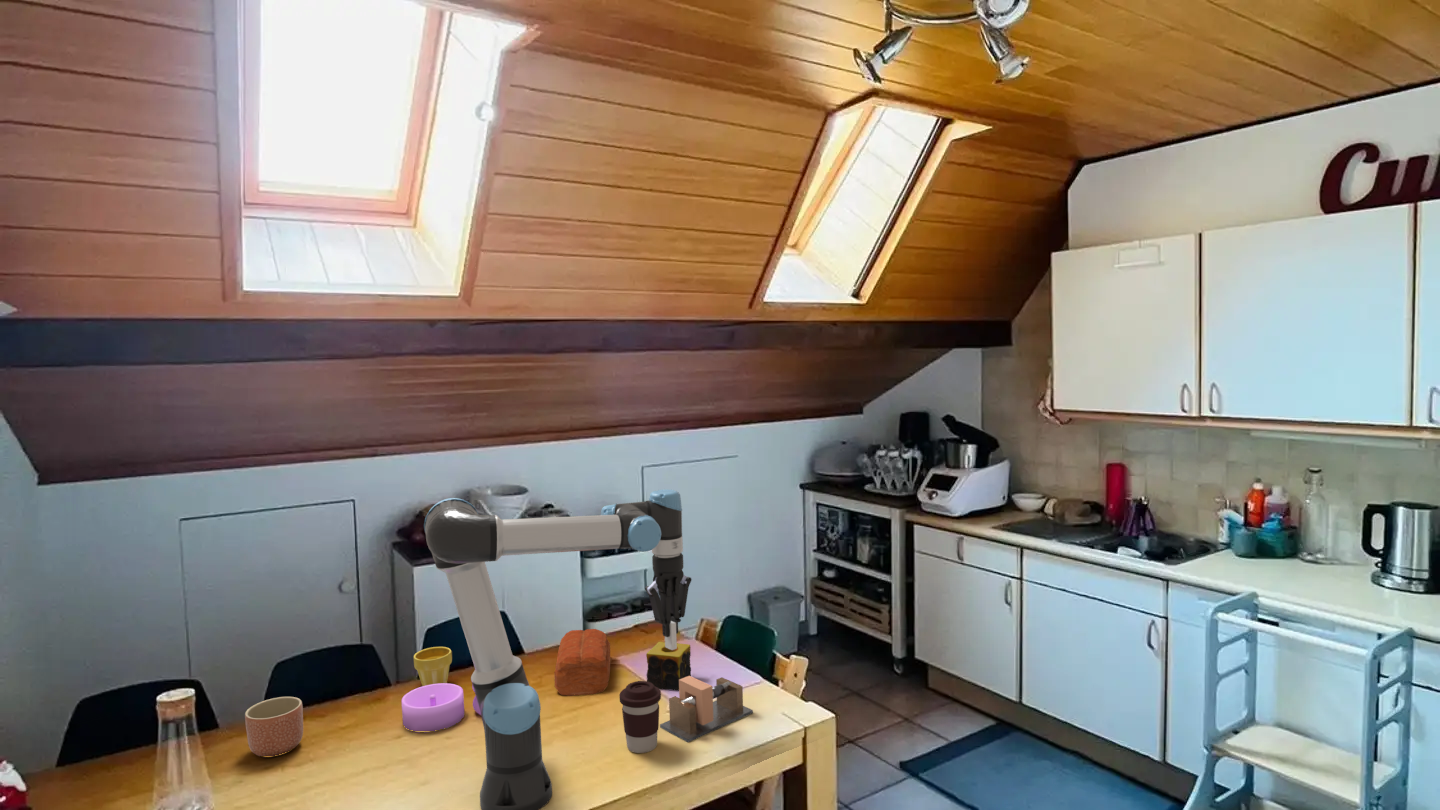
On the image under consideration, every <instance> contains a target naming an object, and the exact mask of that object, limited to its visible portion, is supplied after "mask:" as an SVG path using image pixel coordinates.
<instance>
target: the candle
mask: <svg viewBox="0 0 1440 810" xmlns="http://www.w3.org/2000/svg"><path fill="white" fill-rule="evenodd" d="M645 656H646V663H647V670H646V671H647V672H646V681H647V682H650V683H652V684H653V685H654V686H655V687H657V688H659V689H660V690H665V691H668V690H669V691H675V692H676V691H677V692H679V679H682V678H685V677H687V676H691V677H692V674H691V673H692V667H691V656H692V655H691V644H689V643H681V642H680V643H679V642H677V649H674V650H670V649H668V648H666V647H665V641H658V642H657V643H656V644H655V645H654V646H653V647H652V648H650V650H649V651H647V652H646V655H645Z"/></svg>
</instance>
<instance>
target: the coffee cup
mask: <svg viewBox="0 0 1440 810" xmlns="http://www.w3.org/2000/svg"><path fill="white" fill-rule="evenodd" d="M661 691H662V690H661V689H659V688H657V687H655V686H654V685H653V684H652V683H650V682H647V680H646V681H645V680H637V681H633V682H631V683H628V684H627V685H626V687H625V688H623V689H622V690H621V691H620V692H619V695H618V697H619V698H618V699H619V702H620V704H621V705H622V708H621V711H622V719H623V731H624V734H625V740H626V748H627V749H628V750H629V751H630V752H632V753H636V754H645V753H648V752H651V751H653V750H654V749H655V748H657V746H658V733H659V732H658V731H659V729H660V724H659V721H660V720H659V719H660V704H659V703H660V702H659V701H660V700H661V698H662V692H661Z"/></svg>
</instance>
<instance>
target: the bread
mask: <svg viewBox="0 0 1440 810" xmlns="http://www.w3.org/2000/svg"><path fill="white" fill-rule="evenodd" d="M556 657H557V660H556V663H555V670H554V672H553V673H554V687H555V689H556V690H557V692H558V693H559V694H560V696H571V697H572V696H587V695H596V694H599V693H603V692H604V691H605V690H606V688H608V686H609V681H610V672H611V643H610V641H609V640H608V636H607V634H606V633H605V632H604V631H602V630H599V629H597V628H587V629H585V630H584V629H583V630H582V629H574V630H573V629H572V630H570V631H567V632H566V633H565V634H564V636H562V638H561V640H560V642H559V647H558V652H557V656H556Z"/></svg>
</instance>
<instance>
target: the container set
mask: <svg viewBox="0 0 1440 810" xmlns="http://www.w3.org/2000/svg"><path fill="white" fill-rule="evenodd" d="M471 684H472V683H471ZM471 688H472V690H473V692H474V693H475V691H474V688H473V684H472V686H471ZM464 702H465V698H464V689H463V687H461V685H457V684H454V683H448V682H447V683H438V684H431V685H426V686H422V685H421V686H420V687H417V688H415V689H412V690H410V691H409V692H407V693H405V694H404V695H403V697H402V698H401V713H402V714H401V715H402V716H401V717H402V725H404V726H405V728H407V729H409V730H413V731H434V732H436V731H435V730H439V731H441V730H440V729H443V730H445V729H444V728H446V729H448V728H450V727H453V726H455V725H457V724H458V723H459V722H461V721H462V720H463V719H464V717H465V703H464ZM472 707H473V710H474V711H475V713H477V714H478V715H480V716H481V711H480V708H479V705H478V702H477V698H476V695H475V696H474V697H473V700H472ZM462 718H463V719H462ZM461 719H462V720H461ZM456 723H457V724H456ZM404 726H403V727H404ZM405 728H404V729H405ZM407 729H406V730H407ZM409 730H408V731H409Z"/></svg>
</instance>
